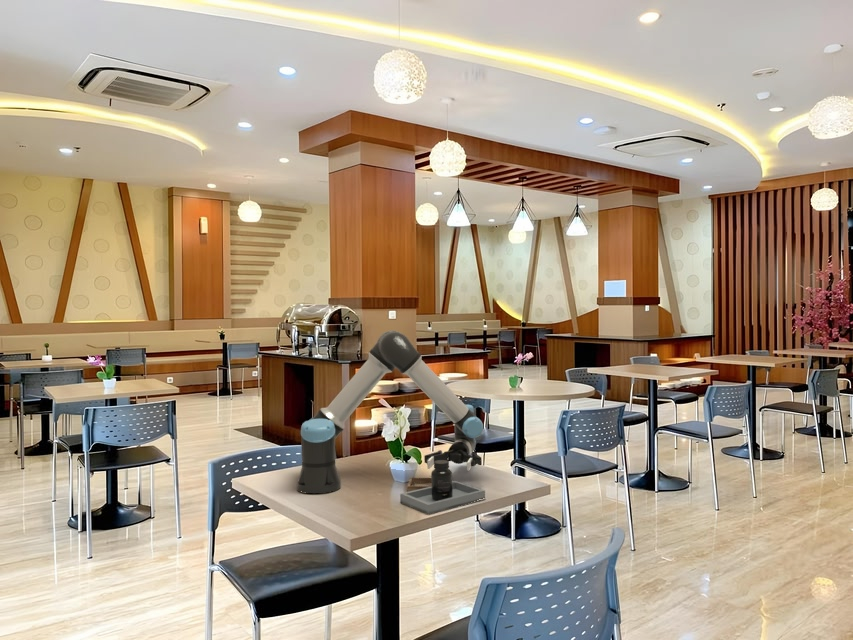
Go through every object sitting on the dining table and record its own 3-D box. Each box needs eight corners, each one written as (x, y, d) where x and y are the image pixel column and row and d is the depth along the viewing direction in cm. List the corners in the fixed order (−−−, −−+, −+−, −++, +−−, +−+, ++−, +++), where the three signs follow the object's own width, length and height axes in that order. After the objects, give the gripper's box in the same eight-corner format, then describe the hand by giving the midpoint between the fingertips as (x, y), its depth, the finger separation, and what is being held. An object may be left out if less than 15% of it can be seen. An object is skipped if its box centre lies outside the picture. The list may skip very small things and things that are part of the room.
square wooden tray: (410, 482, 222) (410, 477, 222) (440, 482, 221) (440, 477, 221) (407, 491, 211) (407, 486, 211) (439, 491, 210) (439, 486, 210)
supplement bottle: (429, 496, 203) (429, 459, 202) (449, 494, 204) (449, 458, 204) (434, 502, 196) (433, 464, 196) (454, 501, 197) (454, 463, 197)
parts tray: (400, 502, 199) (400, 493, 199) (455, 489, 213) (455, 480, 213) (428, 514, 187) (428, 504, 187) (485, 499, 201) (485, 490, 201)
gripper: (493, 462, 226) (485, 478, 205) (427, 460, 232) (412, 475, 211) (493, 442, 226) (484, 455, 205) (426, 440, 232) (412, 453, 211)
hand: (448, 465), depth 208 cm, fingers open, 13 cm apart
